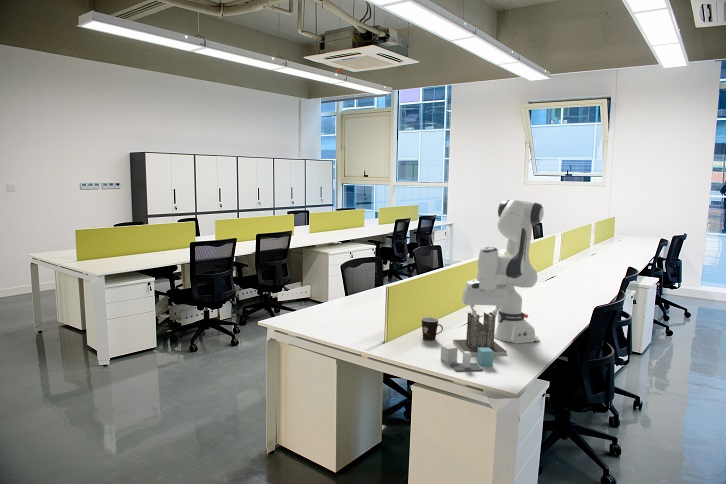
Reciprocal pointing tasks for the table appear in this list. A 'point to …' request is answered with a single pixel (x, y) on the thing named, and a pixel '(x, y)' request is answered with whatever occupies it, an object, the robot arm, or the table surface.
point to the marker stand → (466, 364)
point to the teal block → (485, 356)
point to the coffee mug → (430, 328)
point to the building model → (480, 335)
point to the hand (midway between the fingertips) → (484, 314)
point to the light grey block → (449, 353)
